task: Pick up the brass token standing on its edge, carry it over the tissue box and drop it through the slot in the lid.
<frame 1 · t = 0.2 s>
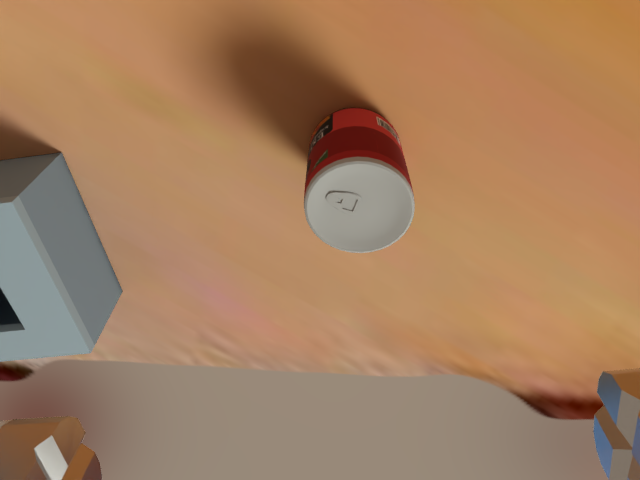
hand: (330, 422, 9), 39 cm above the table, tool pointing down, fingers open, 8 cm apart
canned food: (354, 145, 48), on the table
tissue box: (27, 235, 54), on the table
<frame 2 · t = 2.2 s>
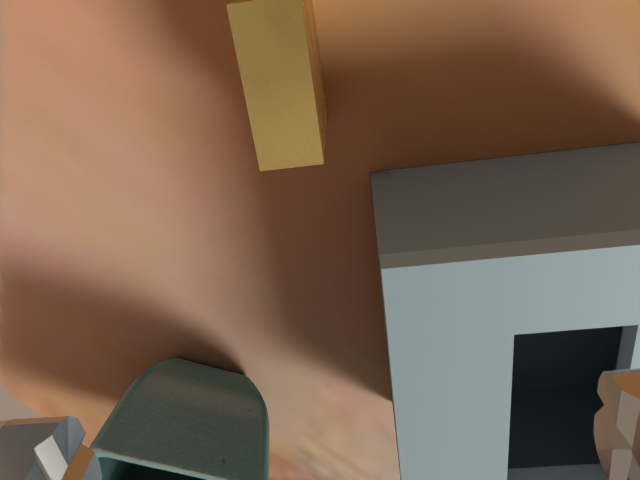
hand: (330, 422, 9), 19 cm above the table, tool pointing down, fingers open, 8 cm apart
tissue box: (508, 290, 30), on the table
flower pot: (204, 390, 35), on the table
token: (291, 56, 25), on the table
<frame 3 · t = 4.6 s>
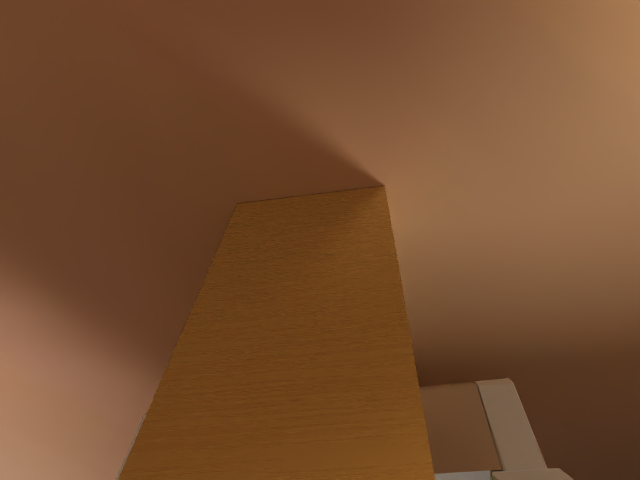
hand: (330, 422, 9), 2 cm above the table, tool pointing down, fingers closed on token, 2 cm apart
token: (334, 337, 10), on the table, touching gripper
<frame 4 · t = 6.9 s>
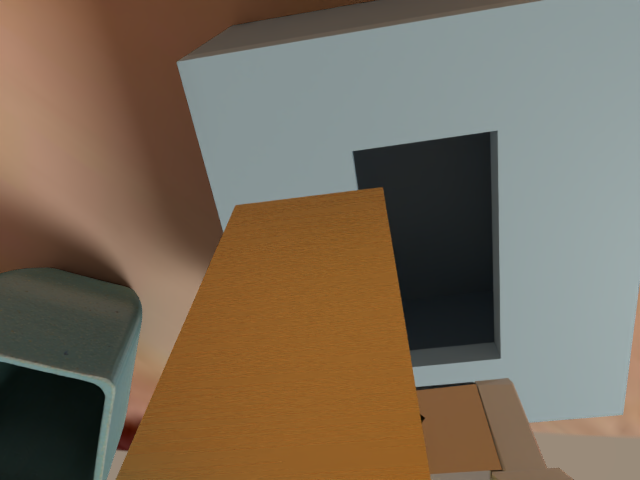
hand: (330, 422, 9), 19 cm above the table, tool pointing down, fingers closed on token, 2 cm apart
tissue box: (407, 172, 27), on the table
flower pot: (91, 310, 32), on the table
token: (332, 339, 10), point 17 cm above the table, touching gripper
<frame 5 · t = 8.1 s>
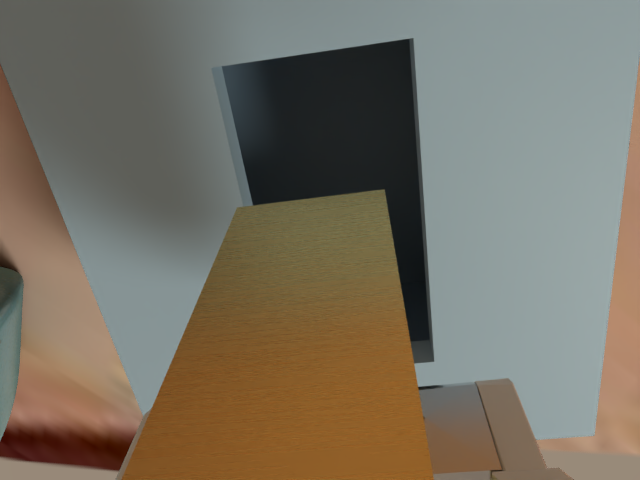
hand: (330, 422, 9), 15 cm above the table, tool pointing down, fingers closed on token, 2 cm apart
tissue box: (340, 131, 22), on the table
token: (334, 340, 10), point 13 cm above the table, touching gripper
when the fingers open (11 cm above the table, at t = 9.1 s): token drops 8 cm, resting on tissue box.
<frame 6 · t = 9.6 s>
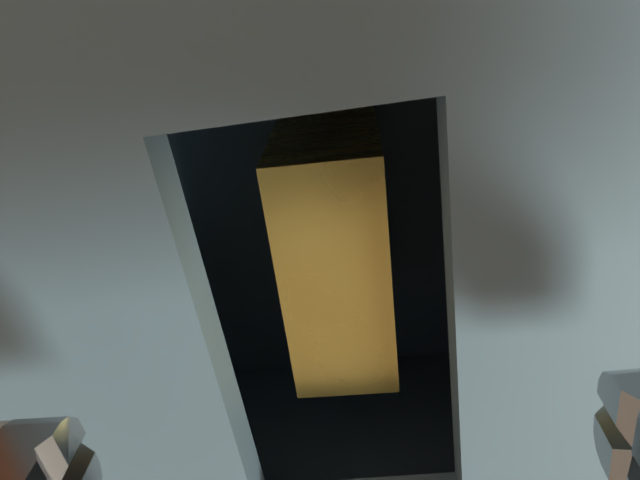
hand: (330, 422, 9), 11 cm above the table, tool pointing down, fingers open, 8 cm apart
tissue box: (337, 179, 18), on the table
token: (338, 188, 17), point 1 cm above the table, touching tissue box
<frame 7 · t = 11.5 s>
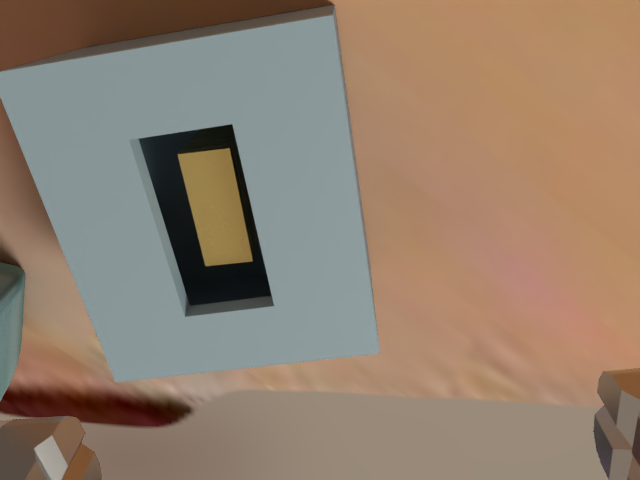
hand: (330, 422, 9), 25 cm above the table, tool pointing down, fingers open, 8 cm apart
tissue box: (239, 166, 33), on the table
token: (237, 171, 32), point 1 cm above the table, touching tissue box
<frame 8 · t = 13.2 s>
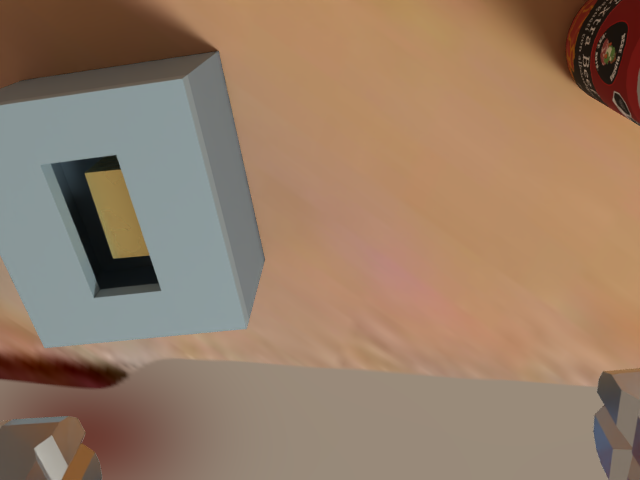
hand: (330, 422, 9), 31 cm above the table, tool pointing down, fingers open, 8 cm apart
canned food: (623, 39, 35), on the table
tissue box: (151, 176, 40), on the table
token: (148, 180, 40), point 1 cm above the table, touching tissue box
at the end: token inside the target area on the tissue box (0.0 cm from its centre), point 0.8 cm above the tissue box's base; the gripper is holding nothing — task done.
